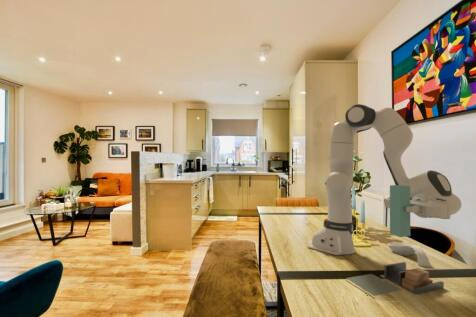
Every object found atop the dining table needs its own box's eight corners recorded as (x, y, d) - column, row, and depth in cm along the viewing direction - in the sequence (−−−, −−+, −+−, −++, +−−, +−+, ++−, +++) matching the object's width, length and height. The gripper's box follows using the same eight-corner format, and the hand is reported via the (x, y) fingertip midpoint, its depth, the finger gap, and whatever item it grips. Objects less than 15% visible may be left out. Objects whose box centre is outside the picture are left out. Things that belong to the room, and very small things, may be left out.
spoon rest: (383, 248, 123) (383, 234, 123) (408, 249, 121) (408, 235, 121) (410, 268, 99) (410, 251, 99) (441, 270, 98) (441, 252, 98)
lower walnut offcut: (413, 291, 79) (413, 283, 79) (401, 285, 83) (401, 278, 83) (432, 287, 82) (432, 280, 82) (420, 281, 85) (420, 274, 86)
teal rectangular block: (400, 237, 86) (400, 186, 86) (389, 233, 89) (389, 185, 90) (410, 235, 87) (410, 186, 87) (399, 232, 91) (399, 185, 91)
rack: (415, 297, 77) (415, 281, 77) (379, 278, 90) (379, 264, 90) (443, 291, 81) (443, 276, 81) (404, 273, 94) (404, 260, 94)
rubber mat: (374, 298, 76) (374, 295, 76) (346, 280, 88) (346, 278, 88) (402, 292, 80) (402, 289, 80) (371, 276, 91) (371, 273, 91)
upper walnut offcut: (416, 283, 79) (416, 275, 79) (405, 278, 82) (405, 271, 82) (428, 279, 82) (428, 272, 82) (417, 275, 85) (417, 268, 85)
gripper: (399, 194, 102) (374, 195, 98) (455, 201, 83) (427, 203, 79) (399, 209, 102) (373, 210, 98) (455, 220, 83) (427, 222, 78)
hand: (398, 207), depth 88 cm, fingers closed on teal rectangular block, 4 cm apart
